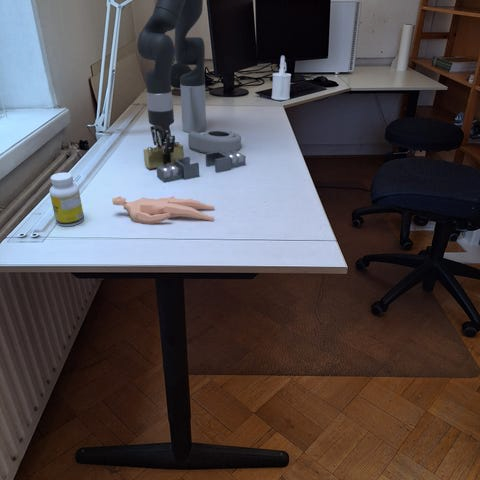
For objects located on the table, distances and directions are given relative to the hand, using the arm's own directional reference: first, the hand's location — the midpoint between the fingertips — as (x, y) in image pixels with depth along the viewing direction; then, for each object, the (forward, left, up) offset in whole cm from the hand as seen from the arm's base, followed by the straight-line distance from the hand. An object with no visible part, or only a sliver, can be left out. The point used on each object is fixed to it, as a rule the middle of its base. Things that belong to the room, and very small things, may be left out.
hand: (164, 162), depth 140 cm
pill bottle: (+23, -35, -1) cm, 42 cm away
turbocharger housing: (-6, +23, -2) cm, 24 cm away
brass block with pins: (0, 0, 0) cm, 0 cm away
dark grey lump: (-93, +50, -1) cm, 105 cm away
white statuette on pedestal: (-58, +89, -1) cm, 106 cm away
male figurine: (+32, -14, -2) cm, 35 cm away
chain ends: (+10, +8, -1) cm, 13 cm away
